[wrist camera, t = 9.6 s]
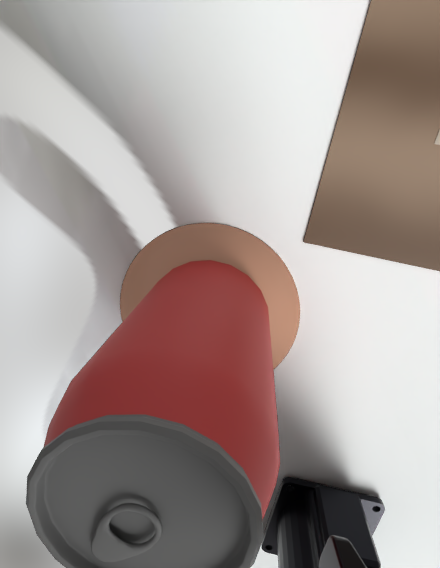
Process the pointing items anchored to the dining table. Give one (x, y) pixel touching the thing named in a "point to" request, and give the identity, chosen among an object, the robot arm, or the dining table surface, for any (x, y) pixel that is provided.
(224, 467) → the beer can
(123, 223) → the dining table surface
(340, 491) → the robot arm
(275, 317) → the coaster
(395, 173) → the board
